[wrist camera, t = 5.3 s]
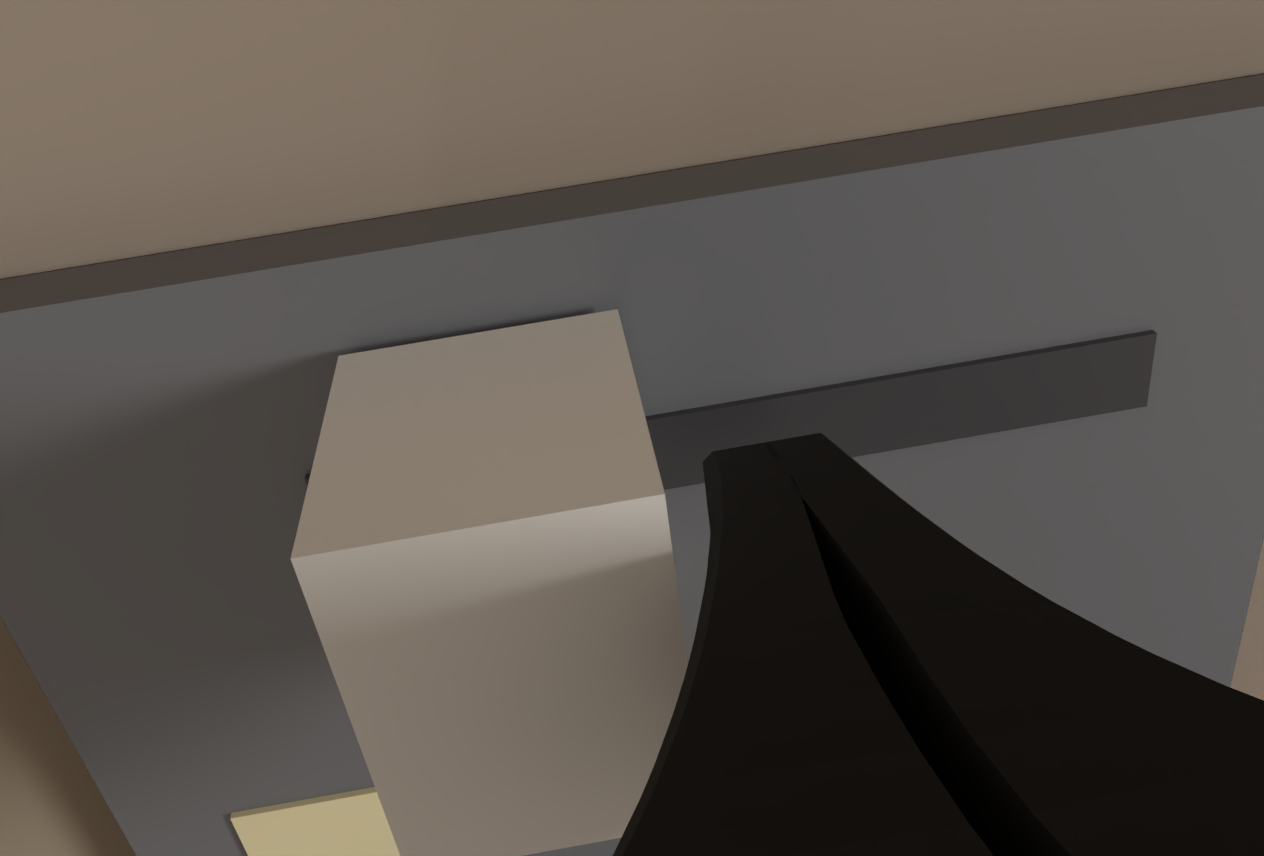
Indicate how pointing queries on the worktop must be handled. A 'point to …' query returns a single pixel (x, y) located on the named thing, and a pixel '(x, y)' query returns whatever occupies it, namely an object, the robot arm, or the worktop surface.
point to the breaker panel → (673, 406)
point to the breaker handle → (496, 584)
